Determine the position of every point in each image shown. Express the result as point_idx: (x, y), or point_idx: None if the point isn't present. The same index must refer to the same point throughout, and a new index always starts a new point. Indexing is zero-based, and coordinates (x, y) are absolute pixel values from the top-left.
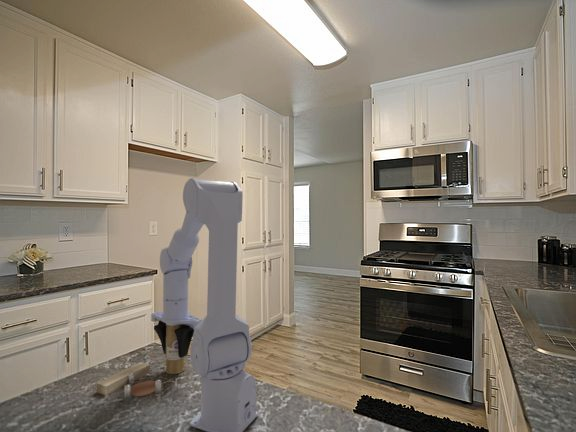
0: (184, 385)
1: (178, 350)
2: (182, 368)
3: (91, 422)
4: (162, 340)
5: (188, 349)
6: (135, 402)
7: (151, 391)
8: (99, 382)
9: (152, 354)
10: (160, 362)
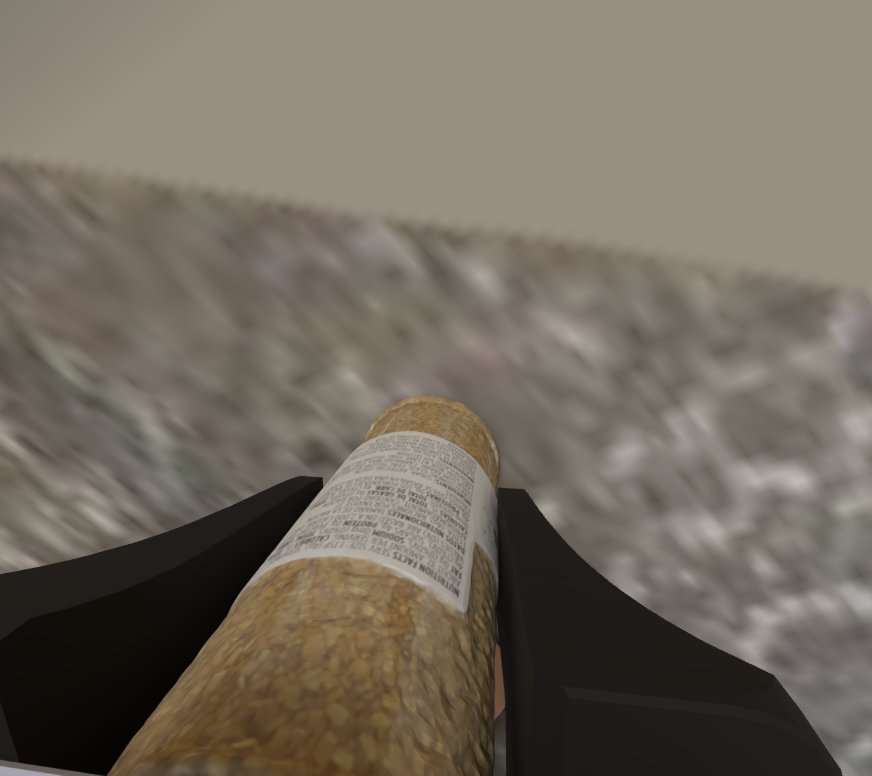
0: (634, 584)
1: (499, 630)
2: (495, 467)
3: None
4: None
5: (538, 509)
6: (499, 769)
7: (499, 692)
8: None
9: (63, 319)
10: (232, 398)
